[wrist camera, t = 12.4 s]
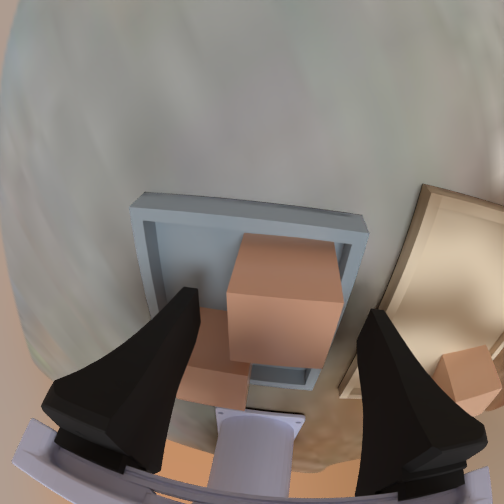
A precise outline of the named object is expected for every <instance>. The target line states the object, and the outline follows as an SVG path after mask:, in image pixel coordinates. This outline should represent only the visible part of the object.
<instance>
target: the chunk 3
mask: <svg viewBox="0 0 504 504" xmlns="http://www.w3.org/2000/svg"><path fill="white" fill-rule="evenodd" d="M432 379H433V380H434V381H435V382H436V384H437V385H438V386H439V387H440V388H441V389H442V390H443V391H444V392H445V393H446V394H447V395H448V396H449V397H450V398H451V399H452V400H453V401H454V402H455V403H456V404H458V405H459V406H460V407H461V408H462V409H463V410H465V411H466V412H467V413H468V414H470V415H471V416H472V417H473V416H476V415H479V414H481V413H482V412H483V411H484V410H485V409H486V407H487V406H488V405H489V404H490V403H491V402H492V400H493V399H494V398H495V397H496V395H497V394H498V393H499V392H500V390H501V389H502V385H501V382H500V379H499V376H498V374H497V371H496V368H495V366H494V363H493V361H492V358H491V356H490V353H489V351H488V348H487V346H486V345H482V346H478V347H474V348H470V349H465V350H461V351H457V352H452V353H447V354H442V356H441V358H440V361H439V363H438V365H437V367H436V369H435V372H434V374H433V376H432Z"/></svg>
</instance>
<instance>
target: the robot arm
mask: <svg viewBox="0 0 504 504" xmlns="http://www.w3.org/2000/svg"><path fill="white" fill-rule="evenodd" d="M200 324H201V318H200V307H199V295H198V289H197V288H190V287H183V288H181V290H180V291H179V292H178V293H177V294H176V295H175V296H174V297H173V298H172V299H171V300H170V301H169V302H168V303H167V304H166V305H165V307H164V308H163V309H162V310H161V311H160V312H159V313H157V314H156V315H155V316H154V317H153V318H152V319H151V320H150V321H149V322H148V323H147V324H146V325H145V326H144V327H143V328H141V329H140V330H139V331H138V332H137V333H136V334H135V335H133V336H132V337H131V338H130V339H128V340H127V341H126V342H124V343H123V344H122V345H120V346H119V347H118V348H116V349H115V350H113V351H112V352H110V353H109V354H107V355H106V356H104V357H103V358H101V359H99V360H98V361H96V362H94V363H92V364H90V365H88V366H86V367H85V368H83V369H81V370H79V371H77V372H74V373H72V374H70V375H67V376H65V377H62V378H60V379H57V380H55V381H54V382H53V384H52V386H51V387H50V389H49V391H48V393H47V395H46V397H45V399H44V401H43V403H42V405H41V407H42V410H43V411H44V412H45V413H46V414H47V415H48V416H49V417H50V418H51V419H52V420H53V421H54V422H55V423H56V424H57V425H58V426H59V427H60V428H59V430H58V432H56V431H55V430H53V429H52V428H50V427H48V426H46V425H45V424H43V423H41V422H39V421H38V420H36V419H34V418H31V420H30V422H29V424H28V426H27V428H26V430H25V432H24V434H23V437H22V439H21V441H20V443H19V445H18V448H17V450H16V452H15V454H14V457H13V459H12V463H13V464H14V465H15V466H17V467H18V468H19V469H21V470H22V471H24V472H25V473H27V474H28V475H29V476H31V477H32V478H34V479H35V480H37V481H39V482H40V483H41V484H43V485H44V486H46V487H47V488H49V489H50V490H52V491H54V492H55V493H57V494H58V495H60V496H62V497H63V498H65V499H67V500H68V501H70V502H72V503H74V504H184V503H181V502H178V501H174V500H171V499H167V498H165V497H161V496H159V495H156V493H155V492H158V493H161V494H165V495H168V496H172V497H176V498H180V499H184V500H188V501H192V502H193V503H192V504H493V502H492V491H491V482H490V475H489V468H488V466H485V467H483V468H480V469H477V470H474V471H471V472H468V473H466V474H464V472H463V469H465V468H466V467H467V463H466V460H467V459H469V458H470V457H472V456H474V455H475V454H476V453H478V452H480V451H481V450H483V449H484V448H485V447H486V445H487V443H488V441H487V436H486V431H485V427H484V425H483V424H482V423H481V422H479V421H478V420H476V419H475V418H474V417H472V416H471V415H470V414H468V413H467V412H466V411H465V410H463V409H462V408H461V407H460V406H459V405H458V404H456V403H455V402H454V401H453V400H452V399H451V398H450V397H449V396H448V395H447V394H446V393H445V392H444V391H443V390H442V389H441V388H440V387H439V386H438V385H437V384H436V382H435V381H434V380H433V379H432V378H431V377H430V375H429V374H428V373H427V372H426V371H425V369H424V368H423V367H422V365H421V364H420V363H419V361H418V360H417V359H416V357H415V356H414V354H413V353H412V352H411V350H410V349H409V347H408V346H407V344H406V343H405V341H404V340H403V338H402V337H401V335H400V334H399V332H398V331H397V329H396V328H395V326H394V324H393V323H392V321H391V320H390V318H389V317H388V315H387V314H386V312H385V311H384V310H378V309H371V310H370V312H369V315H368V317H367V319H366V321H365V324H364V326H363V328H362V330H361V332H360V335H359V337H358V339H357V364H358V371H359V379H360V387H361V395H362V403H363V439H362V453H361V462H360V470H359V475H358V481H357V487H356V491H355V497H346V498H288V495H289V487H290V476H291V466H292V454H293V442H294V439H295V437H296V436H297V434H298V432H299V430H300V429H301V427H302V425H303V423H304V421H305V416H304V415H298V414H286V413H275V412H266V411H258V410H250V409H245V411H241V410H234V409H228V408H222V407H216V409H215V411H216V420H217V428H218V440H217V444H216V449H215V453H214V458H213V463H212V468H211V472H210V476H209V481H208V485H207V488H206V487H201V486H196V485H192V484H188V483H183V482H180V481H175V480H172V479H168V478H165V477H161V476H158V475H154V474H155V473H158V472H159V471H161V466H162V460H163V454H164V447H165V442H166V437H167V432H168V427H169V423H170V418H171V414H172V410H173V406H174V402H175V398H176V394H177V391H178V388H179V385H180V382H181V380H182V377H183V375H184V372H185V369H186V367H187V364H188V362H189V359H190V357H191V354H192V351H193V349H194V346H195V343H196V340H197V336H198V332H199V328H200Z"/></svg>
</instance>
